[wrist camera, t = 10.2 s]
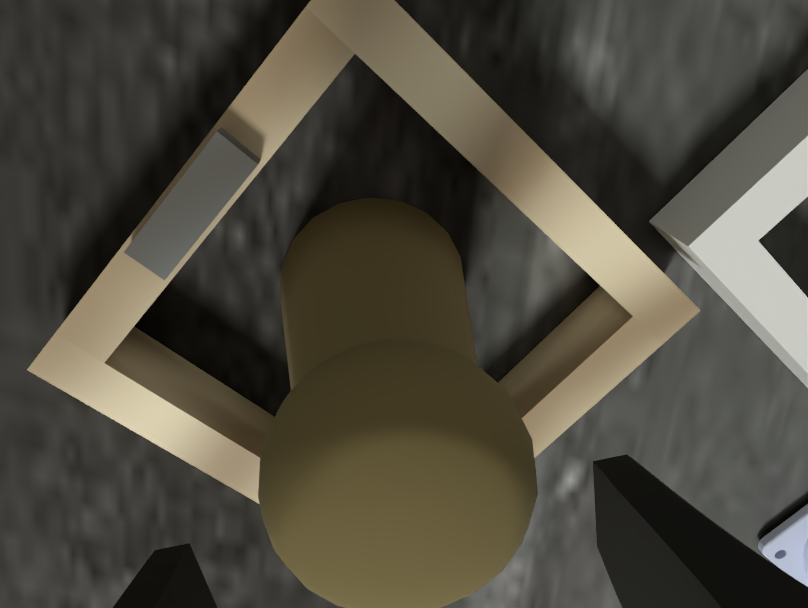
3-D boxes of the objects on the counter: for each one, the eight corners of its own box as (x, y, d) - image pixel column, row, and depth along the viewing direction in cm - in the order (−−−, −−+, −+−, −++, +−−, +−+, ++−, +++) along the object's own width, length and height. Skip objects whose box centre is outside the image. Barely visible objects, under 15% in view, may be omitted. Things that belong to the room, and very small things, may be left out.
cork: (344, 158, 18) (352, 317, 8) (500, 261, 20) (660, 493, 10) (244, 313, 20) (151, 599, 10) (396, 395, 22) (445, 705, 12)
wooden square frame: (661, 279, 21) (711, 319, 18) (389, 530, 24) (396, 596, 22) (345, -37, 16) (347, -51, 13) (63, 330, 20) (16, 381, 17)
